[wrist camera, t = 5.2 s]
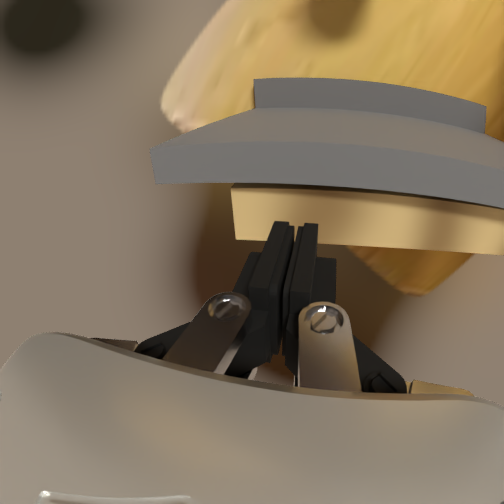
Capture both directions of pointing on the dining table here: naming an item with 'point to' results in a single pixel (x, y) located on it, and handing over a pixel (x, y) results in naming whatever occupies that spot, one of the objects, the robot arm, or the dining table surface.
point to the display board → (344, 142)
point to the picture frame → (369, 217)
